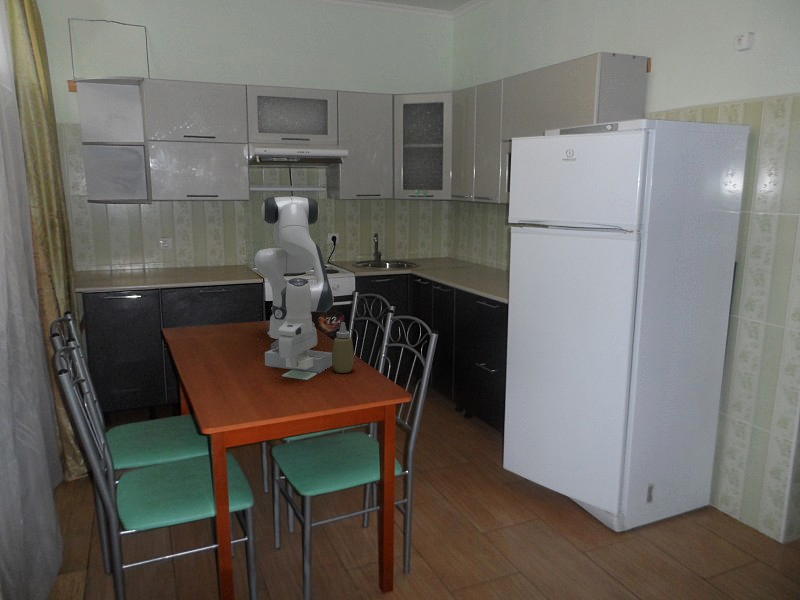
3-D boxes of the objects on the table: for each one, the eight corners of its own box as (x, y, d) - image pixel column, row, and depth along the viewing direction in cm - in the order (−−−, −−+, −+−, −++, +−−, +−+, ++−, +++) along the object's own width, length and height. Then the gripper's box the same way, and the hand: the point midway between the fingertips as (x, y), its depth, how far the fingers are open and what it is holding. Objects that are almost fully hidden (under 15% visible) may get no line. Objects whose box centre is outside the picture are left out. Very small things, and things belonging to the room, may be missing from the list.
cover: (293, 363, 217) (293, 353, 216) (313, 365, 214) (313, 355, 213) (285, 366, 212) (285, 356, 211) (306, 369, 209) (305, 359, 209)
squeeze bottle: (354, 374, 216) (354, 324, 213) (331, 374, 215) (331, 324, 212) (354, 367, 224) (354, 319, 221) (332, 367, 223) (332, 319, 220)
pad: (292, 370, 219) (292, 369, 219) (316, 374, 215) (316, 373, 215) (281, 376, 212) (281, 375, 212) (306, 380, 209) (306, 378, 209)
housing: (279, 358, 234) (279, 345, 233) (332, 365, 226) (332, 352, 225) (265, 365, 224) (264, 351, 223) (319, 373, 216) (318, 358, 215)
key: (285, 348, 228) (285, 337, 227) (276, 355, 218) (275, 343, 217) (279, 348, 228) (279, 337, 227) (269, 355, 219) (269, 343, 218)
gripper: (306, 319, 221) (306, 356, 223) (275, 330, 202) (275, 370, 205) (321, 320, 219) (321, 358, 221) (291, 332, 200) (292, 373, 202)
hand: (299, 364), depth 213 cm, fingers closed on cover, 5 cm apart
